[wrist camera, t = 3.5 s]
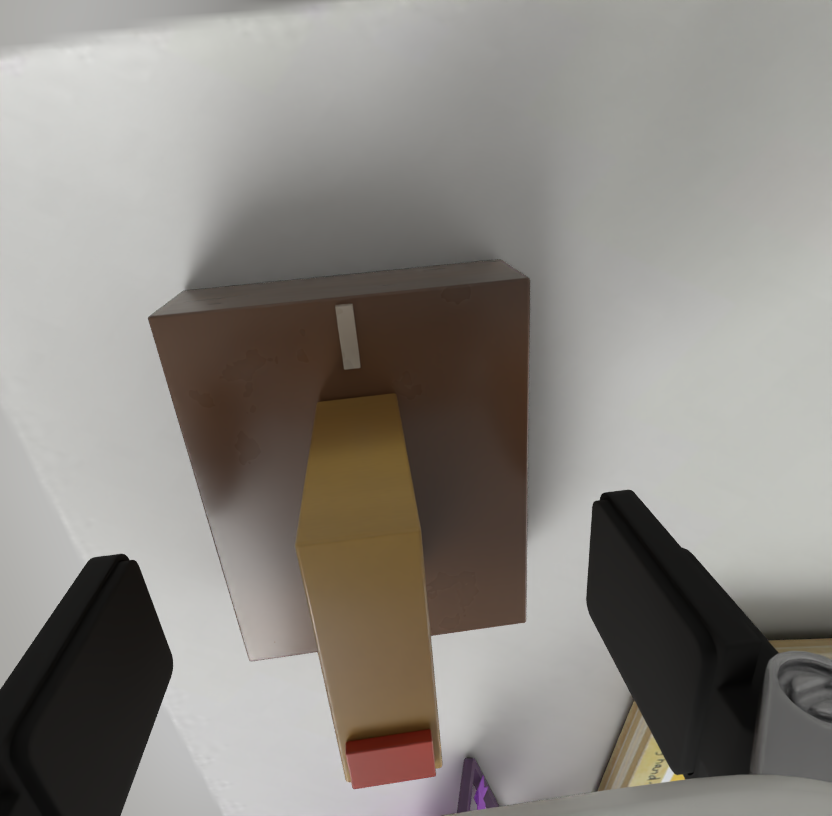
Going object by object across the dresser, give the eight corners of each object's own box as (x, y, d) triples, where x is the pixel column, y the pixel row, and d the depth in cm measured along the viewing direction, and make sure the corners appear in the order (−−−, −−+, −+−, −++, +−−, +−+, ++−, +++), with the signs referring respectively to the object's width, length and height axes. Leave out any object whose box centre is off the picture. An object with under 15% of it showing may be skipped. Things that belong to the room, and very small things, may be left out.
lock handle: (316, 401, 12) (291, 556, 7) (396, 392, 12) (423, 539, 7) (348, 588, 14) (345, 798, 10) (415, 579, 14) (445, 782, 10)
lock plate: (181, 290, 13) (143, 319, 11) (502, 258, 14) (533, 278, 11) (262, 597, 17) (248, 667, 15) (504, 565, 18) (528, 627, 16)
